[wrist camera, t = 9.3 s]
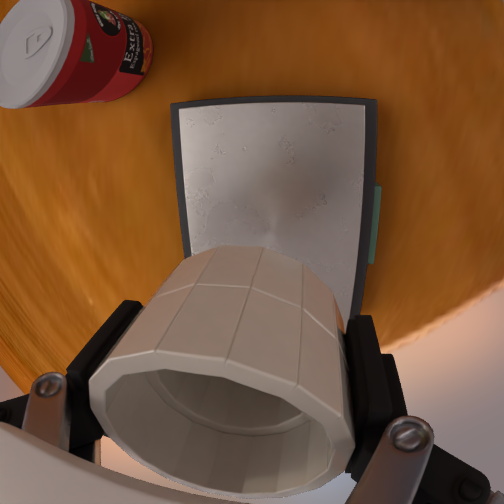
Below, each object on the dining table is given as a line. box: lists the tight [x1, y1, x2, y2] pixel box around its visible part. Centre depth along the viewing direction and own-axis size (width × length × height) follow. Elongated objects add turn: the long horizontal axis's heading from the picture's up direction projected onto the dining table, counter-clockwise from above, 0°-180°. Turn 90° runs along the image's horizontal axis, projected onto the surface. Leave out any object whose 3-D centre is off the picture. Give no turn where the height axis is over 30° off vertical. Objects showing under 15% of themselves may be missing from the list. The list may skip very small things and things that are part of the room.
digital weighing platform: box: [179, 102, 365, 333], centre depth 22 cm, size 12×17×1 cm
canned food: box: [0, 0, 153, 109], centre depth 16 cm, size 8×8×11 cm
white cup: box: [89, 245, 355, 499], centre depth 9 cm, size 7×7×6 cm
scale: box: [170, 96, 381, 319], centre depth 23 cm, size 15×18×2 cm
